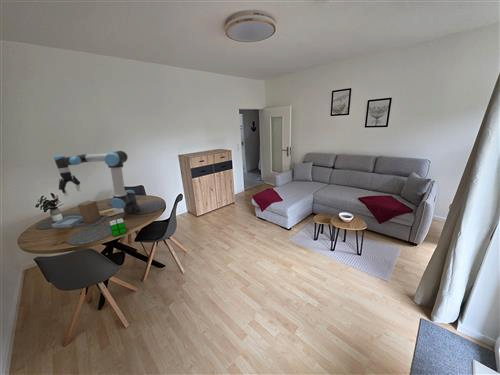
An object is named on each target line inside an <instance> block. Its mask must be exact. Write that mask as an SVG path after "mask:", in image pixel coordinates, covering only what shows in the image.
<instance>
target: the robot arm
mask: <svg viewBox="0 0 500 375" xmlns="http://www.w3.org/2000/svg"><path fill="white" fill-rule="evenodd" d="M128 157H129V156H128V154H127V153H126V152H125V151H122V150H116V151H110V152H107V153H89V154H87V153H86V154H85V153H83V154H79V155H78V154H77V155H75V156H74V155H73V156H65V155H64V154H60V155H54V156H53V159H54V162H55V165H56V167H57V170H58V173H59V175H60V177H61V178H59V179H58V190H59V191H62V193H63V196H64V197H69V195H68V191H67V189H66V186H67V184H68V183H69V182H71V183H72V184H74V186H75V190H76V191H77V192H81V188H80V185H81V182H80V180H78V178H77V177H76V176H75V175H74V174H73V175H72V173H71V170H70V167H69V166H78V165H81V164H83V163H95V162H97V163H98V162H104V163H105V164H106V165H107V166H108V168H109V169H110V174H111V179H112V180H111V181H112V185H113V194H112V197H113V198H112V199H111V200H110V201H111V202H110V203H111V204H110V205H112V207H113V208H115V209H118V210H121V209H123V212H124V214H126V215H130V214H135V213H138V212H140V211H141V206H140V205H139V203H138V201H137V199H136V198H137V197H136V193H135V190H133V189H128V190H127V189H126V190H125V183H124V175H123V167H124V163H126V162H127V160H128ZM137 211H138V212H137Z"/></svg>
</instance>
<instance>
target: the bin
mask: <svg viewBox="0 0 500 375" xmlns="http://www.w3.org/2000/svg"><path fill="white" fill-rule="evenodd" d="M82 220H83V219H82V216H81V215H69V216H65V217H64V218H62V219H61V220H58V221H57V222H54V223H53V224H51V227H52V229H60V228H61V229H63V228H64V229H65V228H66V229H67V228H70V229H71V228H73V227H75V226H76V224H77V223H78V222H80V221H82Z"/></svg>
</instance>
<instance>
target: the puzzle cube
mask: <svg viewBox="0 0 500 375" xmlns="http://www.w3.org/2000/svg"><path fill="white" fill-rule="evenodd" d="M124 220H125V219H124V218H118V219H114V220H112V221H111V220H110V221H109V227H110V229H111V234H112V236H113V237H115V236H119V235H123V234H125V233H127V232H128V231H127V227H126V224H125V221H124Z"/></svg>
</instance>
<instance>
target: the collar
mask: <svg viewBox="0 0 500 375" xmlns="http://www.w3.org/2000/svg"><path fill="white" fill-rule="evenodd" d="M100 215H101V219H100V220H98V221H96V222H95V223H84V222H83V220H82V221H80V222H78V223H77V224H76V225H75V226H76V227H96V226H97V225H98V224H100V223H101V222H103V221H105V220H107V219H108V218H109V217H110V216H109V214H100ZM95 225H96V226H95Z"/></svg>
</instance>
